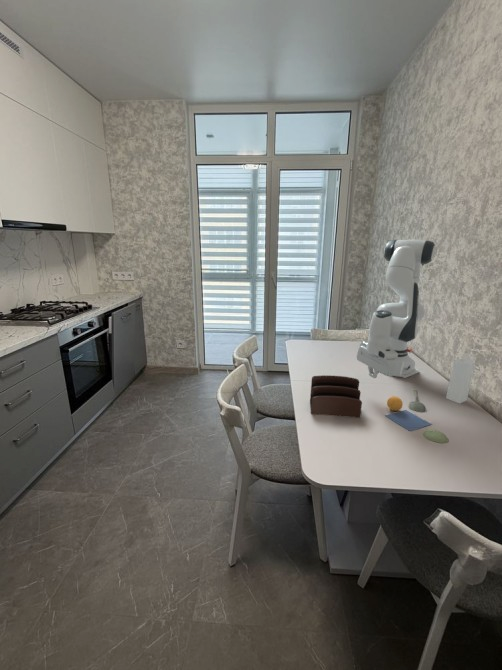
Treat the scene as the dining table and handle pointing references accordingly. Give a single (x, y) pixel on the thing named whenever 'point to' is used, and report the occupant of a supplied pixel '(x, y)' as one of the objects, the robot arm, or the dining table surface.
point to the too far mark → (435, 436)
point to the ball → (394, 403)
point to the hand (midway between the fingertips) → (372, 376)
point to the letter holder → (335, 396)
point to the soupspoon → (417, 404)
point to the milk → (460, 379)
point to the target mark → (408, 420)
